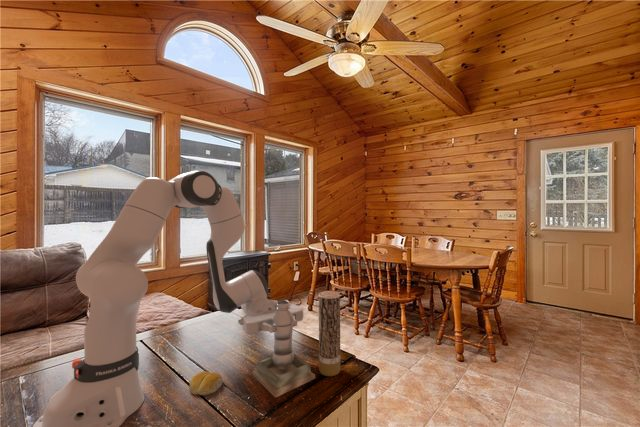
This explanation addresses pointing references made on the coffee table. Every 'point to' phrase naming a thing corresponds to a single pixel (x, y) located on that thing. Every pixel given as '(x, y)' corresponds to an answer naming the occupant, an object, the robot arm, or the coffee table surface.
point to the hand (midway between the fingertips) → (284, 326)
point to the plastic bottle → (283, 336)
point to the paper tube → (329, 333)
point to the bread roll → (205, 383)
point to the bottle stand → (282, 375)
